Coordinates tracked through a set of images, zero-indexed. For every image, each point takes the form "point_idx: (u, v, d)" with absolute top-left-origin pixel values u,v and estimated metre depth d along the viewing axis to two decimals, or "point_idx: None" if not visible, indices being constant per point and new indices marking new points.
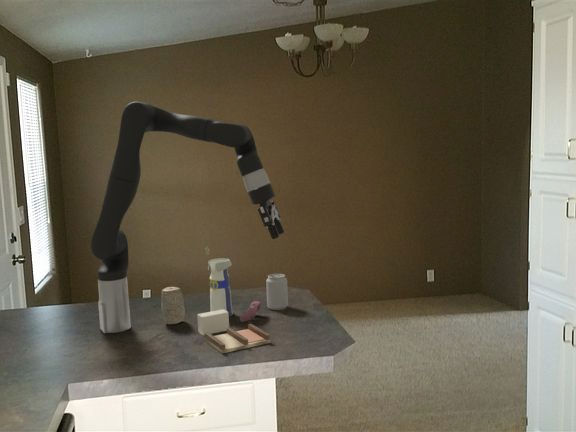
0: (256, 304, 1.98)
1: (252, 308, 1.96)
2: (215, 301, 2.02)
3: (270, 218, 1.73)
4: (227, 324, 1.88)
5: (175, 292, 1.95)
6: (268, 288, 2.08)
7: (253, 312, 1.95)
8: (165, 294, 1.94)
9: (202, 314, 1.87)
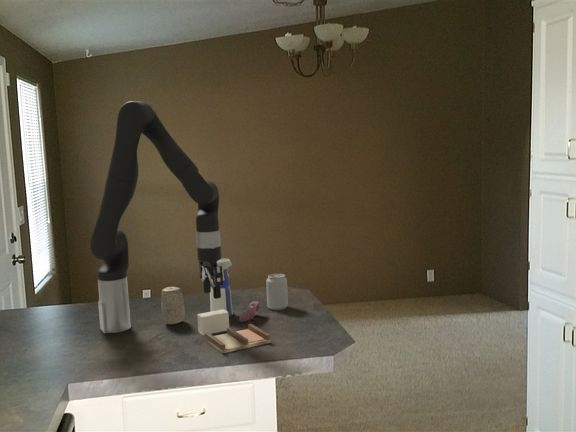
0: (255, 304, 1.98)
1: (251, 308, 1.96)
2: (215, 301, 2.02)
3: None
4: (227, 324, 1.88)
5: (175, 292, 1.95)
6: (268, 288, 2.08)
7: (252, 312, 1.95)
8: (165, 294, 1.94)
9: (202, 314, 1.87)
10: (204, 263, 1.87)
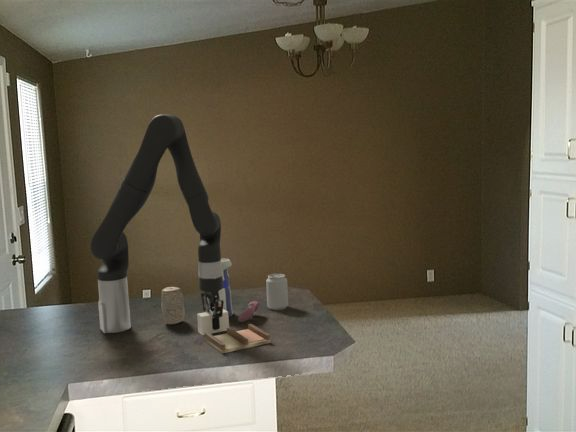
0: (254, 304, 1.98)
1: (250, 308, 1.96)
2: None
3: None
4: (227, 324, 1.88)
5: (175, 292, 1.95)
6: (268, 288, 2.08)
7: (251, 312, 1.95)
8: (165, 294, 1.94)
9: (202, 314, 1.87)
10: (205, 291, 1.88)
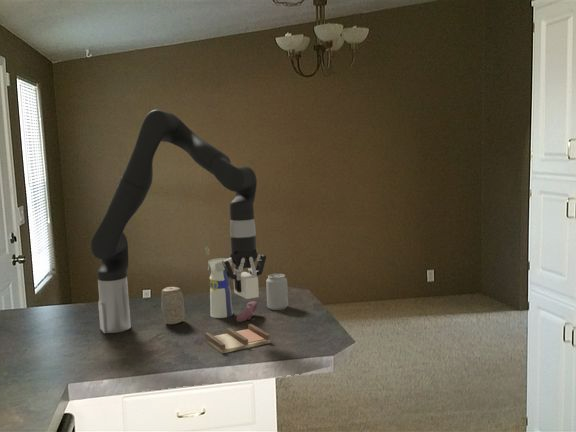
0: (252, 304, 1.98)
1: (248, 308, 1.96)
2: (215, 301, 2.02)
3: (231, 273, 1.73)
4: (245, 291, 1.72)
5: (175, 292, 1.95)
6: (268, 288, 2.08)
7: (249, 312, 1.95)
8: (165, 294, 1.94)
9: (242, 273, 1.79)
10: None
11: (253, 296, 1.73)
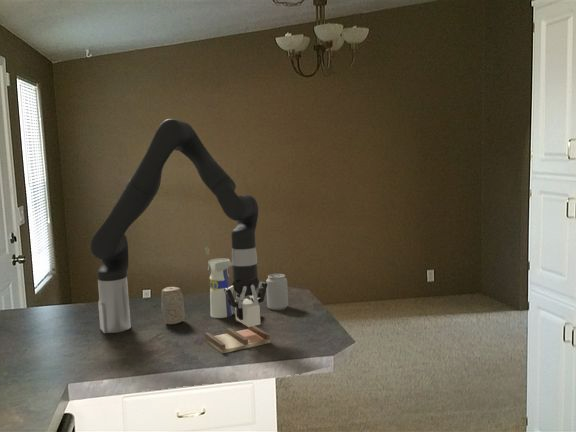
0: None
1: None
2: (215, 301, 2.02)
3: (233, 301, 1.74)
4: (247, 319, 1.73)
5: (175, 292, 1.95)
6: (268, 288, 2.08)
7: None
8: (165, 294, 1.94)
9: (244, 300, 1.80)
10: None
11: (255, 324, 1.74)
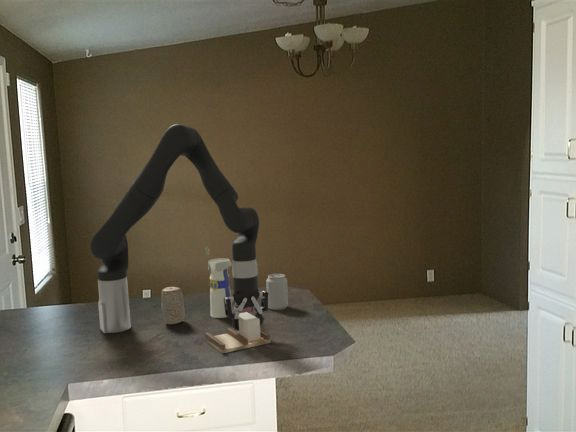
0: None
1: (246, 308, 1.96)
2: (215, 301, 2.02)
3: (230, 312, 1.74)
4: (247, 334, 1.74)
5: (175, 292, 1.95)
6: (268, 288, 2.08)
7: None
8: (165, 294, 1.94)
9: (244, 313, 1.81)
10: None
11: (255, 338, 1.75)
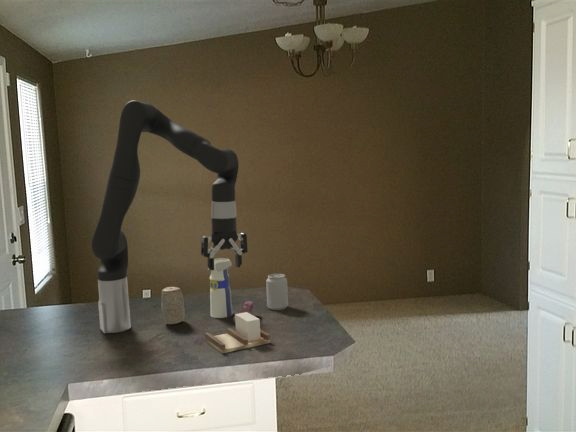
0: (249, 304, 1.98)
1: (245, 308, 1.96)
2: (215, 301, 2.02)
3: (206, 251, 1.75)
4: (247, 334, 1.74)
5: (175, 292, 1.95)
6: (268, 288, 2.08)
7: None
8: (165, 294, 1.94)
9: (244, 313, 1.81)
10: None
11: (255, 338, 1.75)
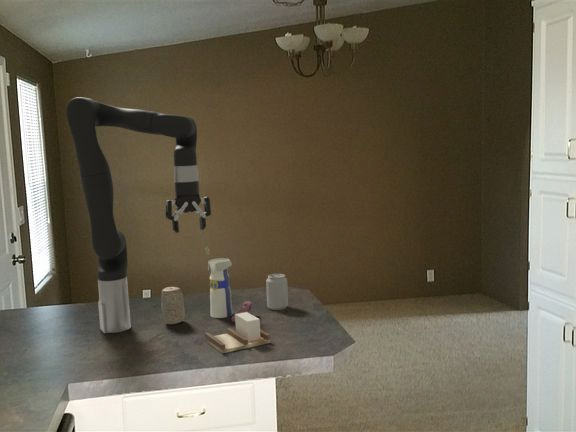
0: (247, 304, 1.98)
1: (243, 308, 1.96)
2: (215, 301, 2.02)
3: (170, 214, 1.83)
4: (247, 334, 1.74)
5: (175, 292, 1.95)
6: (268, 288, 2.08)
7: None
8: (165, 294, 1.94)
9: (244, 313, 1.81)
10: None
11: (255, 338, 1.75)
